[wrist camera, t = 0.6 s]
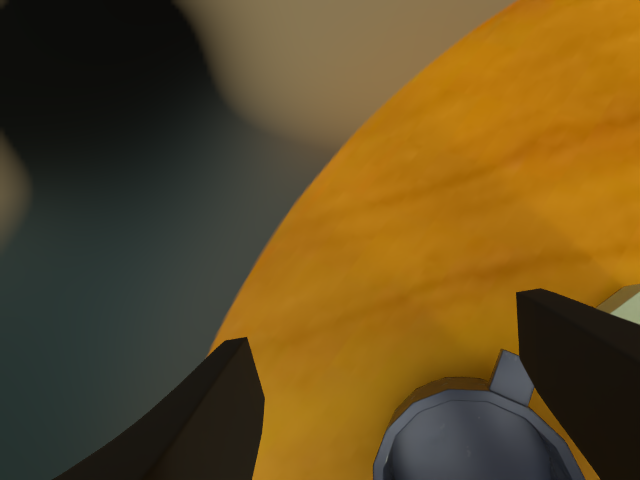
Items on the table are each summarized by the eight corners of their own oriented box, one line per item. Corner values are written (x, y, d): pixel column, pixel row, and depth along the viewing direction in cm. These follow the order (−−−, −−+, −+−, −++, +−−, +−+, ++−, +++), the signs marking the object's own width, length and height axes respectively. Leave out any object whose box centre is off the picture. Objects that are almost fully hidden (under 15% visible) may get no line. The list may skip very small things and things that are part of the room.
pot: (596, 386, 30) (636, 403, 24) (513, 632, 29) (533, 715, 23) (429, 319, 34) (427, 319, 28) (348, 534, 33) (328, 582, 27)
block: (674, 335, 30) (713, 337, 25) (622, 373, 30) (652, 381, 26) (624, 286, 31) (653, 280, 27) (575, 323, 31) (596, 323, 27)
